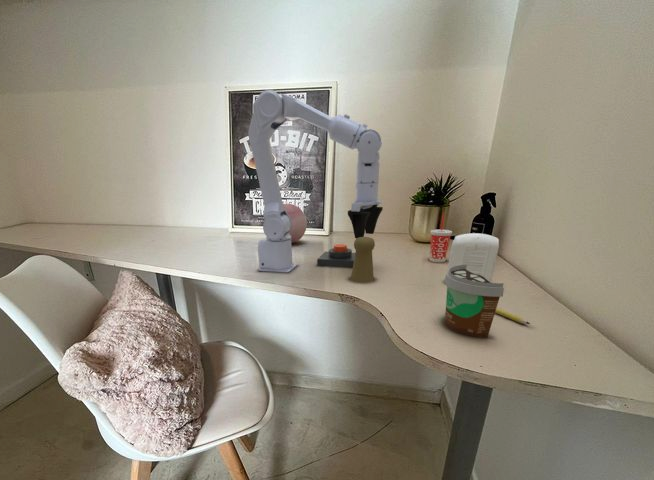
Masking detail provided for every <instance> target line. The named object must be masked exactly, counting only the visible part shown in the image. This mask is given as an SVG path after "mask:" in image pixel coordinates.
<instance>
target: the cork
mask: <svg viewBox="0 0 654 480" xmlns="http://www.w3.org/2000/svg"><path fill="white" fill-rule="evenodd" d="M375 246H376V243H375V240H374V238H372V237H369V236H364V237H359V238H355V240H354V242H353V248H354V251H355V252H354V253H355V258H354V264H353V268H351V276H350V280H351V281H352V282H355V283H371V282H373V281H374V280H375V279H374V277H375V276H374V262H373V250H374V249H375Z"/></svg>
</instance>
